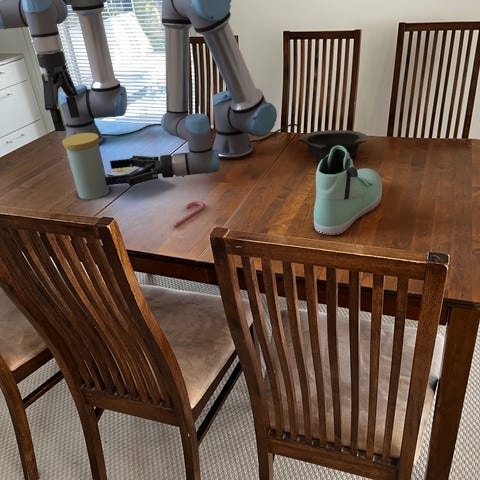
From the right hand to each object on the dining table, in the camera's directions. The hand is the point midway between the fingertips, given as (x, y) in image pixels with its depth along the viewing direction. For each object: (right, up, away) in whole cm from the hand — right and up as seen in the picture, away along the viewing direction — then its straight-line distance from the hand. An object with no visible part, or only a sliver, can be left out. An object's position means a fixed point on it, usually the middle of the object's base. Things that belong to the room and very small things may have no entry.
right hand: (108, 172), depth 157 cm
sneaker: (+75, -13, -18) cm, 78 cm away
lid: (-7, +10, -6) cm, 13 cm away
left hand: (-10, +14, -8) cm, 19 cm away
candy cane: (+28, -15, -16) cm, 35 cm away
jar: (-6, -6, +4) cm, 9 cm away
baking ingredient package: (+2, +4, +20) cm, 20 cm away
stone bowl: (+77, +8, +16) cm, 79 cm away
